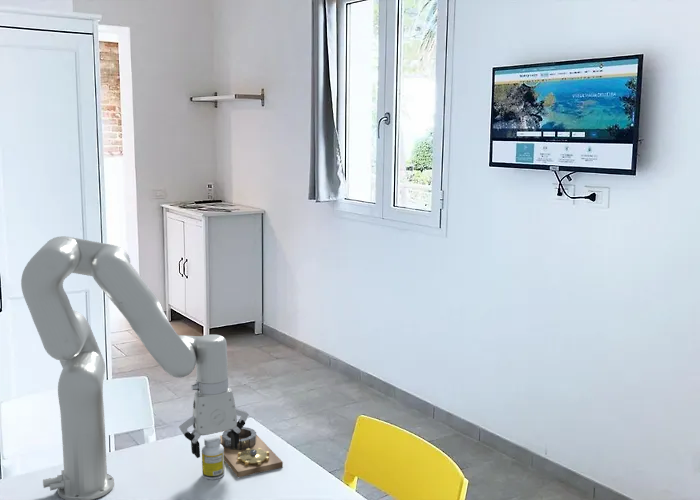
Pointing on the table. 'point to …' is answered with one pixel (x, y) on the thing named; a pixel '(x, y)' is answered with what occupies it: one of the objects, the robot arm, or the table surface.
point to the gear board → (243, 470)
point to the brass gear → (253, 456)
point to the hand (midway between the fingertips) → (215, 451)
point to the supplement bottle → (212, 458)
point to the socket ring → (244, 443)
